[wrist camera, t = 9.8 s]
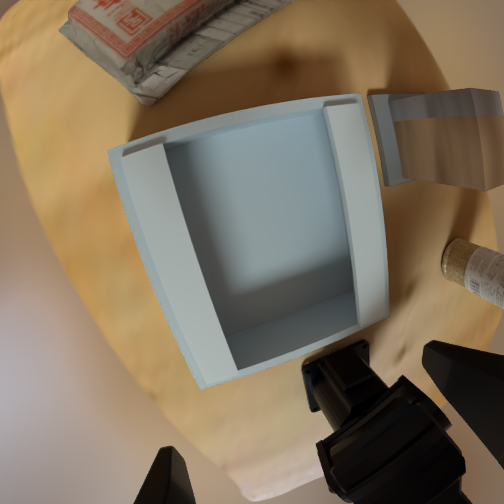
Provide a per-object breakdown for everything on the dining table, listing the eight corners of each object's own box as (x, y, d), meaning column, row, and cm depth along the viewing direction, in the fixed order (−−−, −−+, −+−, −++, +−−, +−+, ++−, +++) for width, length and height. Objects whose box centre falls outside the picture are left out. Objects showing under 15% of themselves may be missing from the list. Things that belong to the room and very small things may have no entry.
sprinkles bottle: (466, 265, 26) (561, 313, 13) (441, 287, 25) (540, 347, 13) (463, 228, 24) (570, 270, 11) (437, 249, 24) (552, 303, 11)
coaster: (440, 171, 21) (445, 172, 21) (384, 185, 20) (389, 186, 20) (426, 94, 19) (431, 93, 19) (366, 96, 18) (371, 94, 18)
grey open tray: (355, 290, 22) (392, 318, 18) (195, 348, 21) (200, 393, 16) (323, 105, 18) (364, 92, 13) (125, 154, 16) (104, 150, 11)
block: (421, 99, 18) (498, 91, 11) (434, 169, 20) (511, 180, 13) (387, 101, 18) (469, 87, 10) (402, 177, 20) (485, 191, 12)
